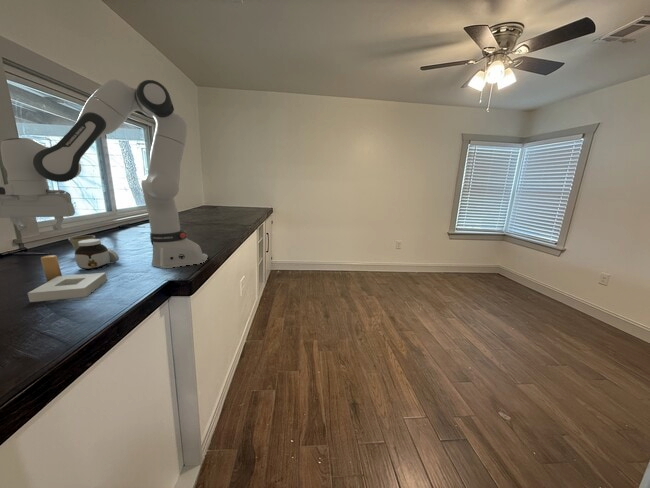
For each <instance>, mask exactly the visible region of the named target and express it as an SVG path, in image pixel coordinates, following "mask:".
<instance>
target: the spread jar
mask: <svg viewBox="0 0 650 488" xmlns="http://www.w3.org/2000/svg"><path fill="white" fill-rule="evenodd" d="M78 244H79V247H78V248H77V249H76V251H75V250H74V259H75V262H76V265H77V267H78V268H80V269H81V270H84V271H96V270H100V269H103V268H105V267H107V265H109V263H112V264H114V263H117V262H119V260H120V257H119V254H118V253H117V252H116V251H114V250H113V249H110V248H107V246H105V245H104V244H103V243H102V242H101V238H100V239H99V238H94V239H87V240H82V241H79V242H78Z"/></svg>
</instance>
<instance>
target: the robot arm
mask: <svg viewBox="0 0 650 488" xmlns="http://www.w3.org/2000/svg"><path fill="white" fill-rule="evenodd" d="M133 113H135V114H136V113H137V114H139V115H141V116H143V117H145V118H147V119H151V120H155V130H154V135H153V139H152V144H151V149H150V154H149V165H148V166H149V167H148V173H147V174H145V175H144V176H143V178H142V179H141V190H142V194H143V198H144V199H143V200H144V202H145V203H144V204H145V208H146V210H147V216H148V222H149V227H150V233H149V237H150V243H151V246H152V261H151V266H153V267H155V268H156V267H157V268H160V269H162V270H163V269H164V270H165V269H166V268H167V269H173V267H175V268H180V266H182V267H187V266H186V265H190V266H194V265H193V264H197V265H201V264H200V263H202V264H204V263H206V262H207V261H208V259H209V258H208V257H209V256H208V254H207V253H203V251H202V249H201V246H200V245H199V244H198V243H196V242H194V241H192V240H190V239H188V237H187V231H186V230H182V229H181V224H180V217H179V211H178V209H177V206H176V201H175V197H176V196H177V195H178V194H179V191H180V187H179V186H180V179H181V178H180V177H181V165H182V161H183V160H182V159H183V155H184V152H185V151H184V150H185V146H186V142H187V129H188V127H187V122H186V120H185V119H184V118H183V117H182V116H181V115H179V114H178V113H176V112H175V108H174V104H173V101H172V99H171V95H170V93H169V91H168V90H167V88H166V87H165V86H164V85H163V84H162V83H160V82H159V81H156V80H153V79H146V80H142V81H141V82H140V83H138V85H137V87H136V88H133V87H131V86H129V85H128V84H127V83H125V82H124V81H122V80H119V79H113V78H112V79H110V80H108V81H106V82H104V84H102V85H101V86H100V87H98V88H97V89H96V90H95V91H94V93H93V92H92V94H91V96H90V97H89V98H88V99H87V100H86V102H85V103H84V105H83V107H82V110H81V111H80V113H79V116H78V118H77V120H76V122H75V123H74V125H73V126H71V128H70V129H69V130H68V131H67V132H66V133H65V134H64V135H63V137H61V139H60V140H58V142H57V143H56V144H54V145H52V146H47V145H46V144H42V143H41V142H38V141H37V140H35V139H34V138H30V137H29V138H28V137H13V138H11V137H10V138H6V139H4V140H2V141H1V143H0V156H1V161H2V165H3V168H5V171H6V173H7V177H6V180H7V183H6V184H3V185H0V218H4V219H6V218H9V220H10V222H12V224H13V225H15V226H16V228H17V231H20V232H21V231H24V232H25V231H27V230H28V227H27V226H28V225H27V224H23V223H22V222H21V219H22V218H54V220H55V221H56V222H55V223H54V224H52V227H53V228H52V229H53V230H56V231H57V230H59V231H60V230H62V223H63V222H64V219H65V218H66V217H73V216H75V214H76V209H75V207H74V204H73V202H72V195H71V193H70V192H68V191H66V190H64V189H50V186H49V182H48V180H49V181H52V182H57V183H64V182H69V181H71V180H73V179H75V178H77V177H78V176H79V175H80V174H81V173H82V164H81V162H80V161H81V159H82V158H83V156H84V155H85V153H86V152H87V151H88V150H89V149H90V148H91V146H92V145H93V144H94V143H95V142H96V141H97V140H98V139H100V138H101V137H103V136H106V135H109V134H112V133H114V132H115V131H117V130H118V129H119V128H120V127H121V126H122V125H124V123H125V122H126V120H127V119H128V118H129V117H130V115H131V114H133ZM207 258H208V259H207ZM206 260H207V261H206ZM205 261H206V262H205ZM203 262H204V263H203Z"/></svg>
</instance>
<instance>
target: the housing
mask: <svg viewBox="0 0 650 488" xmlns="http://www.w3.org/2000/svg"><path fill="white" fill-rule="evenodd" d="M107 281H108V277H107V273H106V272H98V273H97V272H96V273H86V274H83V273H82V274H71V275H62V276H57V277H56V278H54V279H52V280H50V281H48V282H47V281H46V282H45V283H43V284H41V285H40V286H37V287H36V288H34V289H33V290H30V291H28V292H27V297H28V300H29V303H36V302H44V301H45V302H46V301H55V300H66V299H68V300H69V299H75V298H77V299H78V298H87V297H88V296H90V294H92V293H93V292H94V291H95V289H96V290H97V289H98V288H99V287H101V286H102V285H103V284H104V283H106V282H107ZM100 285H101V286H100ZM91 292H92V293H91ZM86 296H87V297H86Z"/></svg>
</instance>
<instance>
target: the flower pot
mask: <svg viewBox="0 0 650 488" xmlns="http://www.w3.org/2000/svg"><path fill="white" fill-rule="evenodd" d="M87 239H96V236H95V235H80V236H79V235H78V236H74V237H73V236H72V237H69V238H68V239H67V240H68V241H69V242H70V243H71V244H72V247H73V249H74V252H75V251H76V249H77V248H78V247H79V244H78V242H79V241H82V240H87Z"/></svg>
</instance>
